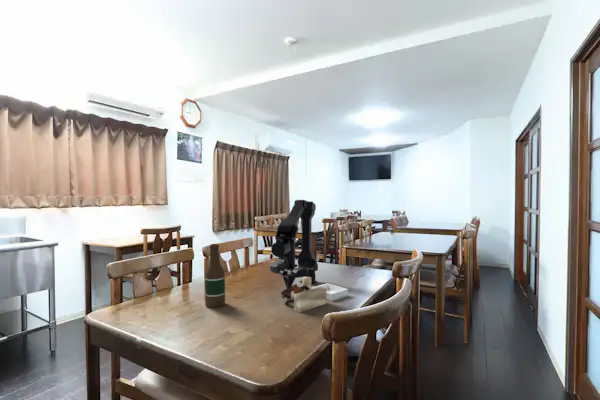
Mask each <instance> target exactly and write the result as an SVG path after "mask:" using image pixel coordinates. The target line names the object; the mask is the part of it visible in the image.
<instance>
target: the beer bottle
mask: <svg viewBox="0 0 600 400" xmlns="http://www.w3.org/2000/svg"><path fill="white" fill-rule="evenodd" d="M219 247H220V245H219V244H218V243H211V244H209V249H210V250H209V264H208V266H207V268H206V269H205V271H204V272H205V273H204V303H205V307H207V306H208V307H207V308H209V307H218V308H220V307H219V306H221V307H223V306H224V305H225V303H226V276H225V274H226V273H225V269H224V267H223V266H222V265H221V261H220V260H221V259H220V251H219V250H220V249H219Z"/></svg>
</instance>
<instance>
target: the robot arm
mask: <svg viewBox="0 0 600 400" xmlns="http://www.w3.org/2000/svg"><path fill="white" fill-rule="evenodd" d="M316 209H317V206H316V203H314V201H308V200H305V199H296V200H295V201H294V203H293V206H292V208H291V210H290V212H289V213H288V216H287V217H286V218H284V219H282V221H280V222H279V225H278V227H277V230H276V233H275V238H274V240H275V242H274V243H273V244H272V245H271V253H272V255H273V256H274V257H276V258H278V259H276V260H274V261H273V262H271V263H270V264H269V269H270V270H269V271H270V272H271V273H274V274H276V275H277V274H278V275H280V276H281V277H282V278H283V281H284V283H285V284H284V286H285V288H286V289H287V288H289V287H291V286H293V285H294V283H295V280H296V279H298V278H301V280H299V283H301V284H302V278H303V277H311V285H313V284H316V283H318V280H316V271H319V264H318V261H317V259H316V254H315V253H314V250H313V249H312V248H313V247H312V246H313V245H312V239H313V238H312V220H313V217H314V216H315V214H316V212H315V211H316ZM299 220H301V251H300V253H298V254H296V240H297V238H296V237H297V235H298V232H299V227H298V223H299ZM296 258H297V263H296Z"/></svg>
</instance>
